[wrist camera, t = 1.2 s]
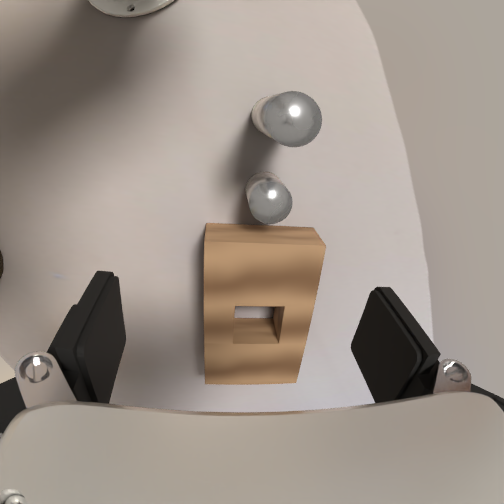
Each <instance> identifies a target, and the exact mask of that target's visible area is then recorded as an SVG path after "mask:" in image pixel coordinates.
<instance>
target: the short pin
mask: <svg viewBox="0 0 504 504" xmlns="http://www.w3.org/2000/svg"><path fill="white" fill-rule="evenodd" d="M246 196H247V200H248V204H249V207H250V211H251V213H252V215H253V216H254V217H255V218H256V219H257V220H258V221H260V222H262V223H266V224H274V223H278V222H280V221H282V220H283V219H285V218H286V217H287V216H288V214H289V213H290V211H291V208H292V197H291V194H290V192H289V191H288V189H287V188H286V187H285V186H284V184H283V183H282V182H281V180H280V179H279V178H278V177H277V176H276V175H275V174H273V173H270V172H259V173H257V174H255V175H253V176H252V177H251V178H250V179H249V180H248V182H247V185H246Z"/></svg>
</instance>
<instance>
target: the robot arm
mask: <svg viewBox="0 0 504 504" xmlns="http://www.w3.org/2000/svg"><path fill="white" fill-rule="evenodd" d="M88 1H89V2H90V3H91V4H92V5H93V6H94V7H95V8H96V9H98V10H100V11H101V12H103V13H105V14H108V15H111V16H116V17H136V16H140V15H145V14H148V13H151V12H154V11H157V10H159V9H161V8H163V7H165V6H167V5H169V4H170V3H171V2H173V1H174V0H88ZM132 9H134V10H133V11H132V12H131V10H132ZM125 342H126V333H125V326H124V319H123V312H122V304H121V295H120V286H119V278H118V277H117V276H114V274H113V272H107V271H97V272H96V273H95V275H94V277H93V278H92V280H91V282H90V283H89V285H88V287H87V289H86V290H85V292H84V294H83V295H82V297H81V299H80V301H79V302H78V304H77V305H73V306H72V307H71V309H70V310H69V312H68V314H67V316H66V317H65V319H64V321H63V323H62V325H61V326H60V328H59V330H58V332H57V334H56V336H55V338H54V340H53V341H52V343H51V345H50V347H49V349H48V351H47V353H46V352H43V351H36V352H32V353H29V354H27V355H25V356H23V357H22V358H21V359H20V360H19V361H18V363H17V364H16V367H15V376H16V377H14V378H12V379H10V380H8V381H6V382H3V383H1V384H0V504H504V399H503V398H501V397H499V396H497V395H494V394H493V393H490V392H488V391H486V390H484V389H482V388H480V387H478V386H475V385H473V384H471V374H470V372H469V370H468V369H467V367H466V366H464V365H463V364H462V363H461V362H459V361H457V360H454V359H444V360H442V361H441V362H439V361H438V358H439V356H440V352H439V351H438V350H437V348H436V347H435V345H434V344H433V343H432V341H431V340H430V338H429V337H428V336H427V334H426V333H425V332H424V330H423V329H422V328H421V326H420V325H419V323H418V322H417V321H416V319H415V318H414V317H413V316H412V314H411V313H410V312H409V310H408V309H407V308H406V306H405V305H404V304H403V302H402V301H401V300H400V299H399V297H398V296H397V295H396V294H395V292H394V291H393V290H392V289H391V288H390V287H376V288H375V289H374V290H373V291H371V293H370V295H369V298H368V301H367V303H366V306H365V309H364V312H363V314H362V317H361V320H360V322H359V325H358V328H357V330H356V333H355V335H354V338H353V340H352V343H351V350H352V353H353V355H354V357H355V359H356V361H357V364H358V366H359V368H360V370H361V372H362V374H363V377H364V379H365V381H366V383H367V385H368V388H369V390H370V392H371V394H372V396H373V399H374V401H375V403H374V404H366V405H359V406H350V407H341V408H330V409H319V410H305V411H288V412H251V413H234V412H198V411H180V410H167V409H154V408H143V407H133V406H124V405H116V404H109V401H110V397H111V393H112V389H113V385H114V382H115V378H116V374H117V371H118V367H119V364H120V360H121V357H122V353H123V350H124V346H125Z"/></svg>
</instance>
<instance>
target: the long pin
mask: <svg viewBox="0 0 504 504" xmlns="http://www.w3.org/2000/svg"><path fill="white" fill-rule="evenodd" d="M251 118H252V122H253V124H254V126H255V127H256V128H257V129H258V130H259V131H261V132H262V133H264V134H265V135H267V136H269V137H270V138H272V139H274V140H275V141H277V142H278V143H280V144H282V145H285V146H288V147H300V146H303V145H306V144H308V143H309V142H311V141H312V140H313V139H314V138H315V137H316V136H317V134H318V133H319V131H320V128H321V124H322V115H321V111H320V109H319V107H318V105H317V103H316V102H315V101H314V100H313V99H312V98H311V97H309V96H308V95H306V94H304V93H301V92H296V91H290V92H285V93H281V94H277V95H273V96H269V97H265V98H262V99H261V100H259V101H258V102H257V103H256V104H255V105H254V107H253V109H252V113H251Z"/></svg>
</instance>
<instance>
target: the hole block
mask: <svg viewBox="0 0 504 504" xmlns="http://www.w3.org/2000/svg"><path fill="white" fill-rule="evenodd" d="M325 249H326V245H325V244H324V242H323V241H322V239H321V238H320V236H319V235H318V234H317V232H316V231H315V229H314V228H309V227H290V226H269V225H245V224H219V223H206V231H205V239H204V361H205V384H283V383H296V381H297V377H298V373H299V369H300V365H301V361H302V357H303V353H304V349H305V344H306V340H307V336H308V332H309V327H310V323H311V318H312V314H313V309H314V304H315V300H316V295H317V290H318V285H319V280H320V275H321V270H322V265H323V260H324V254H325ZM235 306H275V307H274V314H273V318H234V314H235Z"/></svg>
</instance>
